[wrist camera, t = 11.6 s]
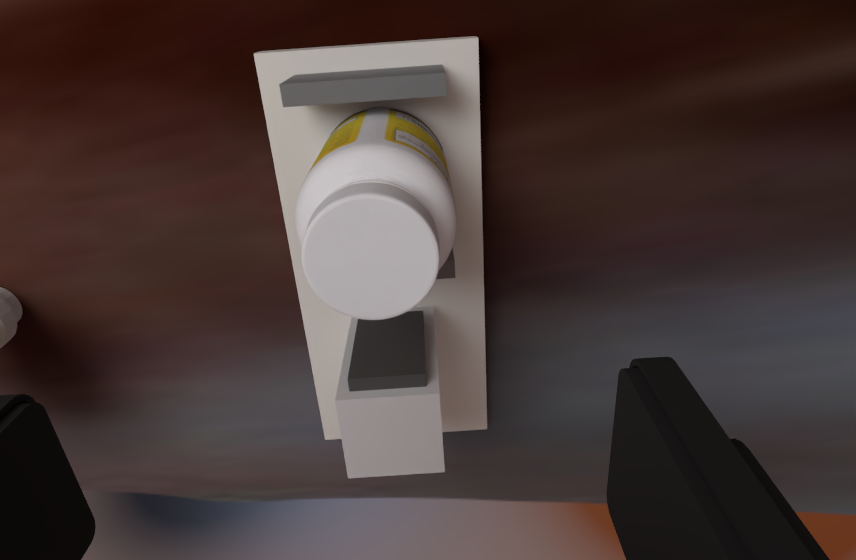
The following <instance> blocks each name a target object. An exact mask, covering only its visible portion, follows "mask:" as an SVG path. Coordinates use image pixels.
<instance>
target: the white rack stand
mask: <svg viewBox="0 0 856 560" xmlns="http://www.w3.org/2000/svg"><path fill="white" fill-rule="evenodd" d="M254 58H255V64H256V69H257V74H258V80H259V85H260V91H261V96H262V101H263V107H264V112H265V118H266V123H267V128H268V134H269V139H270V145H271V150H272V155H273V161H274V166H275V172H276V177H277V182H278V188H279V193H280V199H281V204H282V209H283V215H284V220H285V226H286V231H287V236H288V242H289V247H290V253H291V258H292V263H293V269H294V274H295V280H296V285H297V290H298V296H299V301H300V306H301V312H302V317H303V323H304V328H305V333H306V339H307V344H308V350H309V355H310V360H311V366H312V371H313V377H314V382H315V387H316V393H317V398H318V404H319V409H320V414H321V420H322V425H323V431H324V436H325V440H330V439H342V445H343V451H344V457H345V463H346V469H347V475H348V478H361V477H376V476H392V475H407V474H422V473H438V472H445V467H444V452H443V437H442V432H452V431H467V430H482V429H487V396H486V352H485V308H484V264H483V220H482V176H481V132H480V88H479V44H478V37H476V36H470V37H456V38H442V39H428V40H413V41H399V42H385V43H371V44H357V45H343V46H328V47H314V48H300V49H286V50H272V51H260V52H257V53H254ZM372 107H392V108H397V109H401V110H404V111H407V112H409V113H411V114H413V115H414V116H416V117H418V118H419V119H420V120H422V121H423V122H424V123H425V124H426V125H427V126H428V127H429V128H430V129H431V130H432V131H433V133H434V134H435V135H436V137H437V139H438V140H439V142H440V144H441V146H442V148H443V152H444V155H445V159H446V163H447V167H448V172H449V177H450V181H451V186H452V191H453V195H454V200H455V205H456V214H457V229H456V236H455V241H454V244H453V247H452V250H451V252H450V254H449V256H448V258H447V260H446V261H445V263H444V264H443V266H442V267H441V268H440V269H439V272H438V275H437V278H436V281H435V283H434V285H433V287H432V289H431V290H430V292H429V293H428V294H427V296H426V297H425V298H424V299H423V300H422V301H421V302H420V303H419V304H418V305H417V306H415V307H414V308H412V309H411V310H409V311H407V312H405V313H403V314H401V315H399V316H396V317H392V318H388V319H383V320H363V319H358V318H353V317H350V316H347V315H344V314H342V313H340V312H337V311H335V310H334V309H332V308H331V307H329V306H328V305H327V304H325V303H324V302H323V301H322V300H321V299H320V298H319V297H318V296H317V295H316V294H315V292H314V291H313V290H312V288H311V287H310V285H309V283H308V281H307V279H306V277H305V274H304V271H303V267H302V261H301V246H300V243H299V240H298V237H297V232H296V227H295V208H296V202H297V198H298V195H299V192H300V189H301V186H302V184H303V182H304V180H305V178H306V176H307V174H308V172H309V171H310V169H311V167H312V166H313V164H314V162H315V160H316V159H317V157H318V155H319V153H320V152H321V150H322V148H323V146H324V144H325V142H326V141H327V139H328V138H329V136H330V134H331V133H332V132H333V130H334V129H335V128H336V127H337V126H338V125H339V124H340V123H341V122H342V121H343V120H345V119H346V118H347V117H349V116H350V115H352V114H354V113H356V112H358V111H361V110H364V109H367V108H372Z"/></svg>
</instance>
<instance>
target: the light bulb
mask: <svg viewBox="0 0 856 560" xmlns="http://www.w3.org/2000/svg"><path fill="white" fill-rule="evenodd" d="M22 313H23V312H22V306H21V304H20V302H19V300H18V299H17V298H16V297H15V296H14V294H12V293H11V292H9V291H8V290H7V289H4V288H2V287H0V348H1V347H3V346H4V345H5V344H6V343H7V342H9V341H10V340H11V339H12V337H13V336H14V335H15V333H16V330H17V322H18V321H19V320H20V319H21V316H22Z"/></svg>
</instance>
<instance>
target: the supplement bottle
mask: <svg viewBox="0 0 856 560" xmlns="http://www.w3.org/2000/svg"><path fill="white" fill-rule="evenodd" d="M295 227H296V232H297V237H298V240H299V243H300V246H301V261H302V267H303V271H304V274H305V277H306V279H307V281H308V283H309V285H310V287H311V288H312V290H313V291H314V292H315V294H316V295H317V296H318V297H319V298H320V299H321V300H322V301H323V302H324V303H325V304H327V305H328V306H329V307H331V308H332V309H334V310H335V311H337V312H340V313H342V314H344V315H347V316H350V317H353V318H358V319H363V320H383V319H388V318H392V317H396V316H399V315H401V314H403V313H405V312H407V311H409V310H411V309H412V308H414V307H415V306H417V305H418V304H419V303H420V302H421V301H422V300H423V299H424V298H425V297H426V296H427V294H428V293H429V292H430V290H431V289H432V287H433V285H434V283H435V281H436V278H437V275H438V272H439V269H440V268H441V267H442V266H443V264H444V263H445V261H446V260H447V258H448V256H449V254H450V252H451V250H452V247H453V244H454V241H455V236H456V229H457V214H456V205H455V200H454V195H453V191H452V186H451V181H450V177H449V172H448V167H447V163H446V159H445V155H444V152H443V148H442V146H441V144H440V142H439V140H438V139H437V137H436V135H435V134H434V133H433V131H432V130H431V129H430V128H429V127H428V126H427V125H426V124H425V123H424V122H423V121H422V120H420V119H419V118H418V117H416V116H414V115H413V114H411V113H409V112H407V111H404V110H401V109H397V108H392V107H372V108H367V109H364V110H361V111H358V112H356V113H354V114H352V115H350V116H349V117H347V118H346V119H345V120H343V121H342V122H341V123H340V124H339V125H338V126H337V127H336V128H335V129H334V130H333V132H332V133H331V134H330V136H329V138H328V139H327V141H326V142H325V144H324V146H323V148H322V150H321V152H320V153H319V155H318V157H317V159H316V160H315V162H314V164H313V166H312V167H311V169H310V171H309V172H308V174H307V176H306V178H305V180H304V182H303V184H302V186H301V189H300V192H299V195H298V198H297V202H296V208H295Z"/></svg>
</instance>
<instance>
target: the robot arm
mask: <svg viewBox="0 0 856 560" xmlns="http://www.w3.org/2000/svg"><path fill="white" fill-rule="evenodd" d="M607 503H608V508H609V512H610V516H611V519H612V522H613V524H614V527H615V530H616V533H617V535H618V538H619V541H620V543H621V546H622V549H623V552H624V554H625V557H626V560H829V558H828V557H827V556H826V554H825V553H824V551H823V550H822V549H821V547H820V546H819V545H818V543H817V542H816V541H815V539H814V538H813V536H812V535H811V534H810V532H809V531H808V529H807V528H806V527H805V525H804V524H803V523H802V521H801V520H800V519H799V517H798V516H797V514H796V513H795V512H794V510H793V509H792V508H791V506H790V505H789V503H788V502H787V501H786V499H785V498H784V497H783V495H782V494H781V493H780V491H779V490H778V488H777V487H776V486H775V484H774V483H773V482H772V480H771V479H770V477H769V476H768V475H767V473H766V472H765V471H764V469H763V468H762V466H761V465H760V464H759V462H758V461H757V460H756V458H755V457H754V456H753V454H752V453H751V451H750V450H749V449H748V448H747V447H746V446H745V445H744V444H743V443H742V442H741V441H739V440H737V439H729V437H728V436H727V435H726V433H725V432H724V430H723V429H722V427H721V426H720V425H719V423H718V422H717V420H716V419H715V417H714V416H713V415H712V413H711V412H710V410H709V409H708V407H707V406H706V405H705V403H704V402H703V400H702V399H701V398H700V396H699V395H698V393H697V392H696V390H695V389H694V388H693V386H692V385H691V383H690V382H689V380H688V379H687V378H686V376H685V375H684V373H683V372H682V371H681V369H680V368H679V366H678V365H677V363H676V362H675V361H674V360H673V359H672V358H670V357H658V358H641V359H634V360H632V362H631V364H630V368H626V369H621V370H620V372H619V376H618V386H617V396H616V406H615V416H614V426H613V435H612V445H611V455H610V465H609V475H608V485H607ZM94 534H95V520H94V517H93V515H92V512H91V510H90V508H89V506H88V504H87V501H86V499H85V497H84V495H83V492H82V490H81V488H80V486H79V484H78V481H77V479H76V477H75V475H74V472H73V470H72V468H71V466H70V464H69V461H68V459H67V457H66V455H65V452H64V450H63V448H62V446H61V443H60V441H59V439H58V437H57V435H56V432H55V430H54V428H53V426H52V423H51V421H50V419H49V417H48V415H47V412H46V410H45V409H44V407H43V406H42V405H41V404H39V403H36V402H35V400H34V399H33V398H32V397H30V396H29V395H24V394H18V395H1V396H0V560H81V559H82V557H83V555H84V554H85V552H86V551H87V549H88V547H89V546H90V544H91V542H92V540H93V537H94Z"/></svg>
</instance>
